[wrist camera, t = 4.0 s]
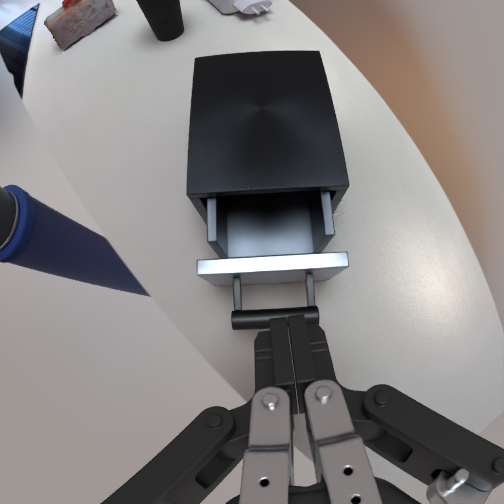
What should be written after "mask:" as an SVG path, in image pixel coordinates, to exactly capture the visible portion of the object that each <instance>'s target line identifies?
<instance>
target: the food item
mask: <svg viewBox="0 0 504 504" xmlns="http://www.w3.org/2000/svg"><path fill="white" fill-rule="evenodd" d="M62 4H63V6H62V7H61V8H59V9H58V10H57V11H55V12H54V13H53V14H51V15H50V16H48V17H47V18H46V20H45V21H44V25H45V26H47V28H48V29H49V31H50V32H51V34H52V35H53V39H55V41H56V42H57V44H58V46H60V47H61V49H62V50H65V49H66V48H67V47H68V46H70V45H71V44H72V43H74V42H75V41H77V40H78V39H79V38H81V37H82V36H87V35H89V34H91V32H93V31H94V30H95V28H96V27H97V26H99V25H101V24H102V23H103V22H105V21H106V20H108V19H109V18H111V17H112V14H115V10H116V9H115V7H114V3H113V1H112V0H64V1H63V2H62Z"/></svg>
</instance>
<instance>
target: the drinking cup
mask: <svg viewBox="0 0 504 504" xmlns="http://www.w3.org/2000/svg"><path fill="white" fill-rule="evenodd" d="M136 1H137V2H138V4H139V6H140V8H141V10H142V12H143V13H144V15H145V17H146V19H147V21H148V23H149V24H150V26H151V28H152V30H153V32H154V34H155V36H156V37H157V39H158V40H160V41H169V40H173V39H175V38H177V37H179V36H180V35H181V34H182V33H183V31H184V26H183V20H182V14H181V7H180V1H179V0H136Z"/></svg>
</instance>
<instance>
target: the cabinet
mask: <svg viewBox="0 0 504 504" xmlns="http://www.w3.org/2000/svg"><path fill="white" fill-rule="evenodd" d="M348 187H349V180H348V174H347V168H346V163H345V157H344V152H343V147H342V142H341V137H340V132H339V128H338V123H337V118H336V114H335V109H334V105H333V101H332V97H331V93H330V89H329V85H328V81H327V77H326V73H325V69H324V66H323V62H322V58H321V55H320V51H261V52H245V53H233V54H222V55H213V56H205V57H198V58H195V63H194V74H193V85H192V97H191V111H190V126H189V144H188V166H187V196H188V197H189V199H190V200H191V202H192V203H193V205H194V206H195V208H196V209H197V211H198V213H199V214H200V216H201V217H202V219H203V220H204V222H205V223H206V225H207V197H214V196H227V195H241V194H257V193H274V192H295V191H321V190H330V198H331V205H332V213H334V211H335V210H336V208H337V206H338V204H339V203H340V201H341V199H342V198H343V196H344V194H345V192H346V191H347V189H348Z"/></svg>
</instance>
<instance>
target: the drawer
mask: <svg viewBox="0 0 504 504" xmlns="http://www.w3.org/2000/svg"><path fill="white" fill-rule="evenodd" d="M334 235H335V230H334V221H333V213H332V205H331V198H330V190H321V191H295V192H274V193H257V194H241V195H227V196H214V197H207V242H208V243H209V244H210V246H211V247H212V248H213V249H214V251H215V252H216V253H217V254H218V256H219V257H220V258H221V259H205V260H197V275H198V276H200V277H201V278H203V279H205V280H206V281H208V282H210V283H211V284H213V285H215V286H229V285H233V293H234V310H235V311H232V315H231V321H232V329H233V330H249V329H270V319H271V318H278V317H286V320H287V327H289V326H288V317H287V316H292V315H299V314H304V316H305V321H306V325H313V324H319V310H318V307H317V306H315V293H314V281H318V280H329V279H330V278H332V277H334V276H335V275H337V274H338V273H340V272H341V271H343V270H344V269H346V268H347V267H349V261H348V252H330V253H321V252H322V251H323V249H324V248H325V247H326V245H327V244H328V243H329V242H330V240H331V239H332V238H333V236H334ZM302 281H306V293H307V306H308V307H295V308H279V309H260V310H242V298H241V285H250V284H269V283H286V282H302Z"/></svg>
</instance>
